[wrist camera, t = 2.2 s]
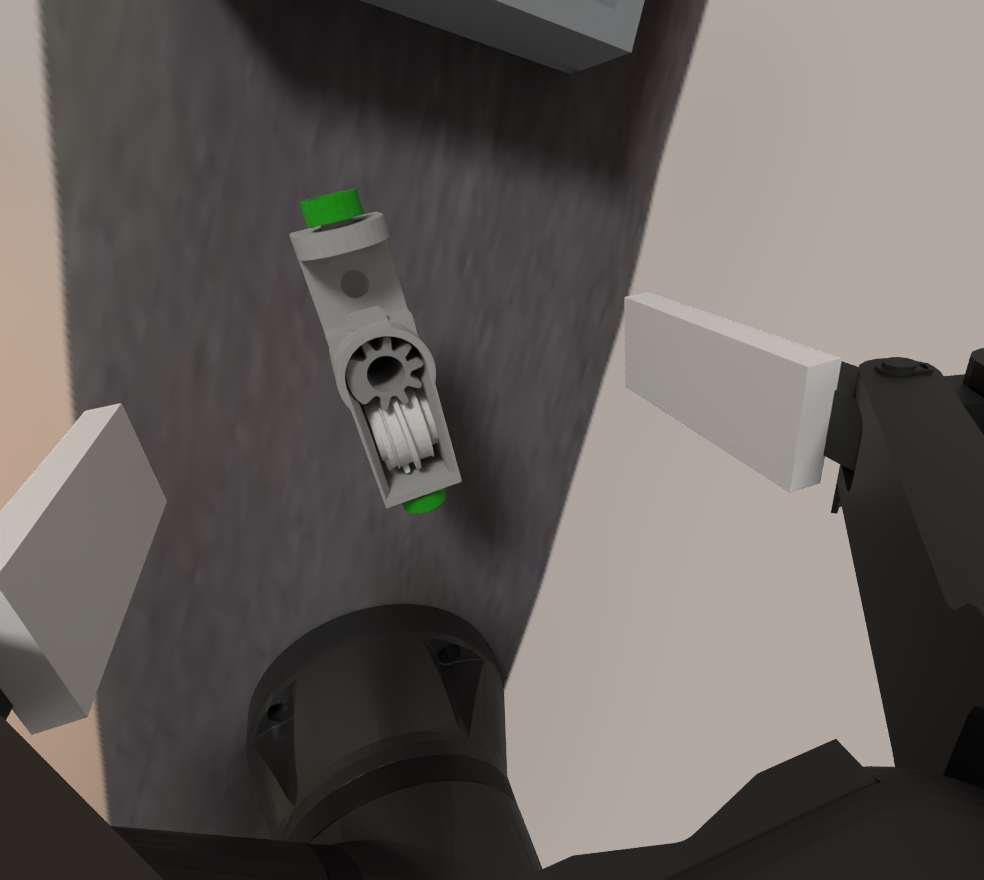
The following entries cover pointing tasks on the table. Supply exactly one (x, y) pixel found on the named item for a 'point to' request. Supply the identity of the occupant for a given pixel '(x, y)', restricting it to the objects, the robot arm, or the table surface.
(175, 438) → the table surface
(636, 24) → the bin
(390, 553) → the table surface
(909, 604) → the robot arm
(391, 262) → the mechanical component
